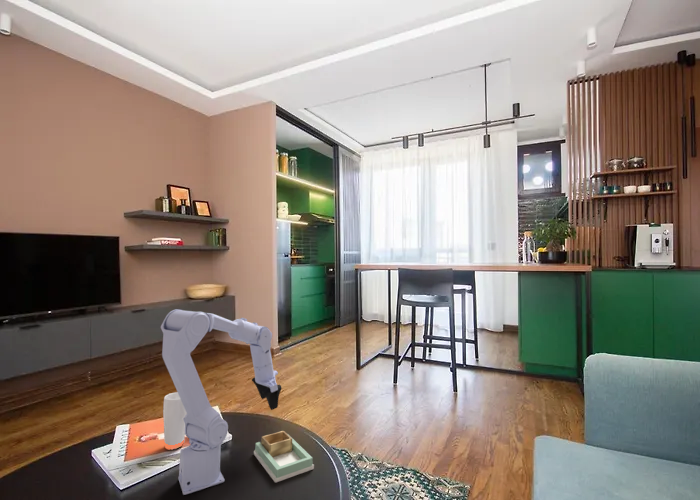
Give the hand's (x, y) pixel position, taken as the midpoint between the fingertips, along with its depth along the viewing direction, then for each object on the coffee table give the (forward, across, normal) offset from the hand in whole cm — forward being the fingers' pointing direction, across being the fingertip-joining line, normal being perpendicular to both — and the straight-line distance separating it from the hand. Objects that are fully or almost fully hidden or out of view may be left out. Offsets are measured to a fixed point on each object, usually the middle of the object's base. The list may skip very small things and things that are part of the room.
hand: (269, 402), depth 108 cm
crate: (+9, -10, +3) cm, 14 cm away
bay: (+9, -14, +3) cm, 18 cm away
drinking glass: (+7, +11, +27) cm, 30 cm away
